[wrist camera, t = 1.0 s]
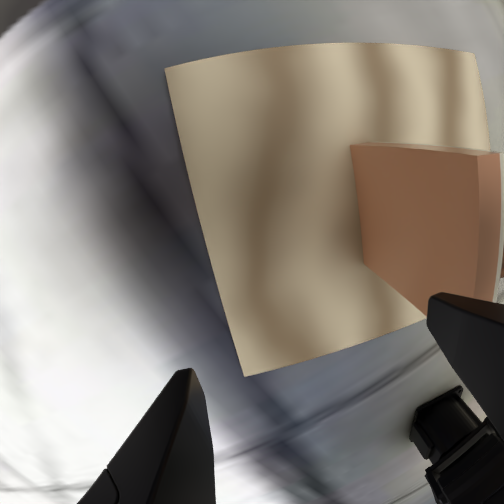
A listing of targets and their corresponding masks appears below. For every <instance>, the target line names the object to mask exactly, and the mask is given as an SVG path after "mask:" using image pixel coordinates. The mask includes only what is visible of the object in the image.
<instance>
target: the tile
mask: <svg viewBox="0 0 504 504" xmlns="http://www.w3.org/2000/svg"><path fill="white" fill-rule="evenodd" d="M350 151H351V157H352V163H353V170H354V177H355V184H356V192H357V199H358V208H359V216H360V226H361V236H362V247H363V259H364V264H365V265H366V266H367V267H368V268H369V269H371V270H372V271H373V272H374V273H376V274H377V275H378V276H379V277H380V278H382V279H383V280H384V281H385V282H387V283H388V284H389V285H390V286H391V287H393V288H394V289H395V290H396V291H397V292H398V293H400V294H401V295H402V296H403V297H404V298H406V299H407V300H408V301H409V302H410V303H411V304H413V305H414V306H415V307H416V308H417V309H418V310H420V311H421V312H422V313H423V314H424V315H425V316H426V317H427V309H428V300H429V297H430V296H432V295H434V294H437V293H439V292H446V293H451V294H455V295H460V296H465V297H470V298H475V299H480V300H485V301H490V302H494V303H496V301H497V295H498V289H499V282H500V275H501V267H502V258H503V247H504V153H503V152H496V151H489V150H481V149H473V148H464V147H454V146H444V145H431V144H417V143H398V142H366V143H359V144H352V145H350Z"/></svg>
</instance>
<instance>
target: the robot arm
mask: <svg viewBox="0 0 504 504" xmlns="http://www.w3.org/2000/svg"><path fill="white" fill-rule="evenodd" d="M427 327H428V329H429V331H430V332H431V334H432V335H433V337H434V339H435V340H436V342H437V343H438V345H439V347H440V348H441V350H442V352H443V353H444V355H445V357H446V358H447V360H448V362H449V363H450V365H451V366H452V368H453V369H454V371H455V372H456V373H457V375H458V376H459V377H460V379H461V380H462V381H463V383H464V384H465V386H466V387H467V388H468V390H469V391H470V392H471V394H472V395H473V397H474V398H475V399H476V401H477V402H478V404H479V405H480V406H481V408H482V409H483V411H484V412H485V414H486V415H487V417H486V418H485V419H484V421H483V422H481V421H480V419H479V418H478V417H477V416H476V415H475V414H474V412H473V411H472V410H471V409H470V408H469V407H468V406H467V404H466V403H465V402H464V401H463V400H462V399H461V395H462V391H463V388H462V386H459V387H457V388H455V389H453V390H452V391H450V392H448V393H446V394H444V395H442V396H440V397H438V398H437V399H435V400H433V401H431V402H429V403H427V404H425V405H423V406H421V407H419V408H418V409H417V410H416V413H415V418H414V422H413V426H412V430H411V434H410V438H409V439H410V441H411V442H414V444H415V445H416V447H417V448H418V450H419V451H420V453H421V455H422V456H423V458H424V459H426V460H427V459H430V461H431V463H432V464H433V465H432V466H431V467H428V468H427V469H425V471H426V475H425V477H426V479H427V481H428V482H429V484H430V486H431V489H432V492H433V495H434V498H435V501H436V503H437V504H504V304H499V303H494V302H490V301H485V300H480V299H475V298H470V297H465V296H460V295H455V294H451V293H446V292H439V293H437V294H434V295H432V296H430V297H429V300H428V309H427ZM77 504H216V497H215V476H214V454H213V445H212V438H211V432H210V426H209V419H208V413H207V406H206V400H205V395H204V392H203V389H202V387H201V385H200V382H199V380H198V378H197V376H196V373H195V371H194V370H193V369H192V368H187V369H182V370H178V371H176V372H175V373H174V375H173V376H172V377H171V379H170V380H169V382H168V383H167V384H166V386H165V387H164V388H163V390H162V391H161V393H160V394H159V395H158V397H157V398H156V399H155V401H154V402H153V404H152V405H151V406H150V408H149V409H148V410H147V412H146V413H145V415H144V416H143V417H142V419H141V420H140V421H139V423H138V424H137V425H136V427H135V428H134V430H133V431H132V432H131V434H130V435H129V436H128V438H127V439H126V441H125V442H124V443H123V445H122V446H121V447H120V449H119V450H118V451H117V453H116V454H115V456H114V457H113V458H112V460H111V461H110V462H109V464H108V465H107V469H104V470H103V472H102V473H101V474H100V476H99V477H98V478H97V480H96V481H95V482H94V484H93V485H92V486H91V487H90V489H89V490H88V491H87V492H86V494H85V495H84V496H83V497H82V498H81V499H80V501H79V502H78V503H77Z"/></svg>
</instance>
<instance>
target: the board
mask: <svg viewBox="0 0 504 504" xmlns="http://www.w3.org/2000/svg"><path fill="white" fill-rule="evenodd" d="M165 74H166V78H167V83H168V88H169V93H170V97H171V102H172V107H173V111H174V116H175V120H176V125H177V129H178V133H179V138H180V142H181V146H182V151H183V155H184V159H185V163H186V167H187V172H188V176H189V180H190V184H191V188H192V192H193V196H194V200H195V204H196V208H197V212H198V216H199V220H200V223H201V227H202V231H203V235H204V239H205V242H206V246H207V250H208V254H209V257H210V261H211V265H212V268H213V272H214V275H215V279H216V283H217V286H218V290H219V293H220V297H221V300H222V304H223V307H224V311H225V314H226V318H227V321H228V324H229V328H230V331H231V335H232V338H233V341H234V345H235V348H236V351H237V354H238V358H239V361H240V364H241V367H242V371H243V374H244V377H246V376H250V375H254V374H259V373H263V372H267V371H270V370H274V369H278V368H282V367H285V366H289V365H293V364H296V363H300V362H303V361H307V360H310V359H314V358H317V357H320V356H323V355H327V354H330V353H333V352H336V351H339V350H342V349H345V348H348V347H351V346H354V345H357V344H360V343H363V342H366V341H369V340H372V339H374V338H377V337H380V336H383V335H385V334H388V333H391V332H393V331H396V330H398V329H401V328H404V327H406V326H409V325H411V324H414V323H416V322H419V321H421V320H423V319H426V318H427V317H426V316H425V315H424V314H423V313H422V312H421V311H420V310H418V309H417V308H416V307H415V306H414V305H413V304H411V303H410V302H409V301H408V300H407V299H406V298H404V297H403V296H402V295H401V294H400V293H398V292H397V291H396V290H395V289H394V288H393V287H391V286H390V285H389V284H388V283H387V282H385V281H384V280H383V279H382V278H380V277H379V276H378V275H377V274H376V273H374V272H373V271H372V270H371V269H369V268H368V267H367V266H366V265H365V264H364V259H363V247H362V236H361V226H360V216H359V208H358V199H357V192H356V184H355V177H354V170H353V163H352V157H351V151H350V145H352V144H359V143H366V142H398V143H417V144H431V145H444V146H454V147H464V148H473V149H481V150H489V151H490V140H489V131H488V123H487V115H486V109H485V102H484V96H483V91H482V86H481V81H480V76H479V71H478V67H477V63H476V58H475V54H474V53H468V52H462V51H456V50H450V49H442V48H435V47H426V46H416V45H403V44H386V43H325V44H307V45H294V46H284V47H274V48H266V49H258V50H251V51H245V52H238V53H232V54H227V55H221V56H216V57H211V58H206V59H202V60H197V61H193V62H188V63H184V64H180V65H176V66H172V67H168V68H165Z"/></svg>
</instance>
